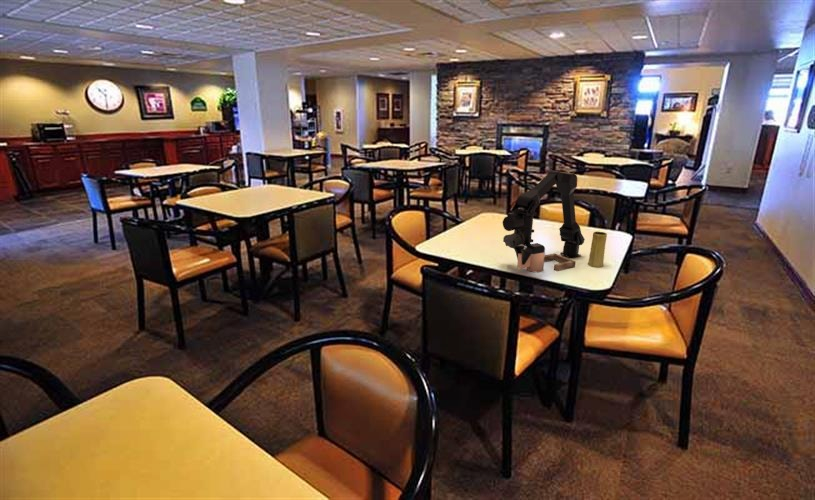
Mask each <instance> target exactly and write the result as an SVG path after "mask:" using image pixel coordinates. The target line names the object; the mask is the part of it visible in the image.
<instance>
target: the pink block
mask: <svg viewBox="0 0 815 500" xmlns="http://www.w3.org/2000/svg"><path fill="white" fill-rule="evenodd" d="M545 255H546V249H545V250H544V252H543V253H538V254H531V255H530V257H529V258H528V260H527V262H526V263H525V264H524V265H522V253H518V259H517V268H519V269H525V270H526V271H529V272H534V273H540V272H543V271H544V266H545V265H544V264H545V262H544V256H545Z"/></svg>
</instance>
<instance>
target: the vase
mask: <svg viewBox="0 0 815 500" xmlns="http://www.w3.org/2000/svg"><path fill="white" fill-rule="evenodd" d="M607 235H608V233H606V232H605V231H594V232H593V234H592V240H591V244H590V245H591V246H590V252H589V259H588V262H587V265H588V266H590V267H593V268H602V267H604V260H605V253H606V252H605V251H606V243H607V237H608V236H607Z"/></svg>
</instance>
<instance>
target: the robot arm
mask: <svg viewBox="0 0 815 500" xmlns="http://www.w3.org/2000/svg"><path fill="white" fill-rule="evenodd" d="M554 186H556V190H557V191H559V193H560V196H561V205H562V218H563V224H561V227H559V228H558V230H559V236H560V240H561V242H564V244H563V247H562V248H563V249H562V252H560V255H561V256H563V257H566V258H568V259H572V258H573V259H574V258H577V257H578V258H579V257H581V256H582V255H581V254H579V251H580V246H582V245H583V244H585V240H586V239H585V237H584V235H583V234H582V230H581V227H580V225H579V224H578V222H577V221H576V220H577V219H576V210H575V195H574V194H575V193H574V192H575V190H576V188H577V187H578V175H576V174H575V173H571V172H565V171H564V172H563V171H559V170H550V171H548V172H547V174H546V175H545V176H544V177H543V178H542V180H540V181H539V182H538V183H537V184H536V185H535V186H534V187H533V188H532V189H530V190H528V191H524V192H523V193H522V194H520V195H518V197H517V199H516V201H515V202H514V204H513V206H512V209H511V211H510V212H507V216H505V217H504V218H503V220H502V227H503V229H504V230H505V231H506V232H507V231H508V232H511V231H513V233H510V234H506V235H504V236H503V237H502V238H503V240H502V241H503V242H504V243H505V246H506V247H509V248H511V249H514V252H515V254H516V255H515V256H516V258H517V260H518V253H522V265H524V264H525V263H526V262H527V260H528V258H529V257H530V255H531V254H538V253H543V252H544V250H545V251H546V247H545V245H543V244H541V243H537V242H536V243H535V242H534V239H532V234H533V233H535V229H534V228H533V223H534V216H537V215H538V213H537V211H536V209H537V208H538V207H539V205H540V203H541V200H542V198H543V197H544V196H545V195H546V194H547V193H548V192H549V191H550V190H551V189H552V188H553V187H554Z"/></svg>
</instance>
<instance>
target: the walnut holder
mask: <svg viewBox="0 0 815 500" xmlns="http://www.w3.org/2000/svg"><path fill="white" fill-rule="evenodd" d="M551 261H552V262H553V261H555V262H557V263H554V265H553V271H554V272H555V271H556V272H559V271H563V270H567V269H572V268H573V269H574V268H575V267H576V261H575V260H573V259H571V258H569V257H566V256H564V255H561V254H557V253H550V254H545V256H544V263H545V262H551Z"/></svg>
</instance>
